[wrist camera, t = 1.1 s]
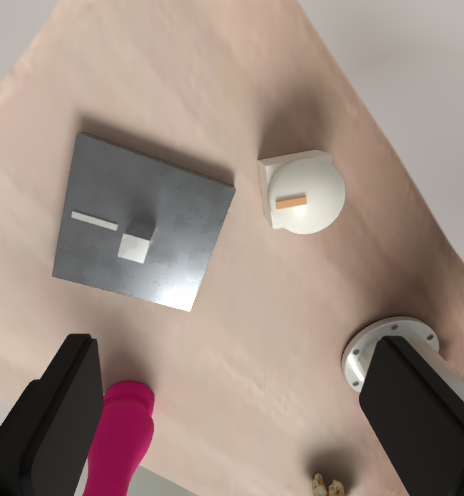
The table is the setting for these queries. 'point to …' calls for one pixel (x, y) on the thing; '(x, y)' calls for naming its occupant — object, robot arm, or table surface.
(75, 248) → the grey thin square slab
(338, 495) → the mineral formation
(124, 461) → the pepper mill
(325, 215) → the knob
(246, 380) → the table surface
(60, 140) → the table surface
